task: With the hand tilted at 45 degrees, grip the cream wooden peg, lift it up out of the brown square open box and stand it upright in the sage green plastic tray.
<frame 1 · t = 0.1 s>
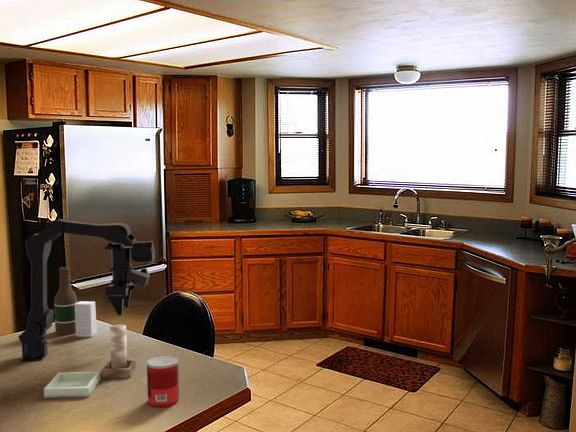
hand: (123, 311, 180), 15 cm above the table, tool pointing down, fingers open, 9 cm apart
peg: (118, 349, 166), in the brown square open box
tray: (73, 388, 155), on the table
brown square open box: (119, 372, 167), on the table
canned food: (163, 402, 147), on the table
skincare box: (86, 335, 202), on the table
beer bottle: (67, 332, 205), on the table
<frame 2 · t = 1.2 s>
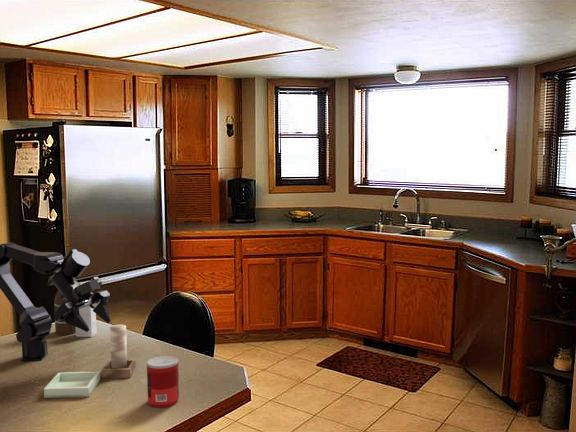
hand: (99, 326, 168), 13 cm above the table, tool tilted 45°, fingers open, 9 cm apart
nothing on the table moved.
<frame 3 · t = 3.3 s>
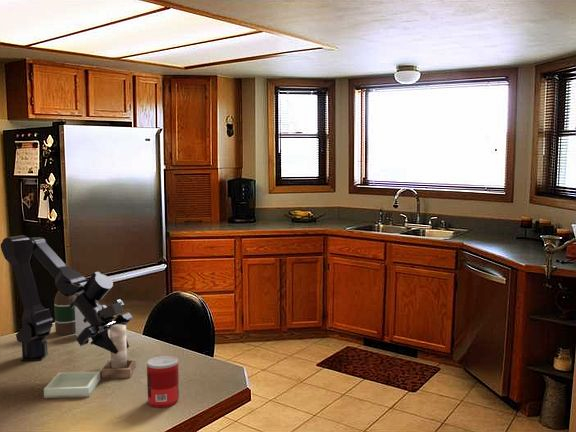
hand: (122, 350, 165), 7 cm above the table, tool tilted 45°, fingers closed on peg, 4 cm apart
peg: (118, 349, 166), in the brown square open box, touching gripper
everything else where it was.
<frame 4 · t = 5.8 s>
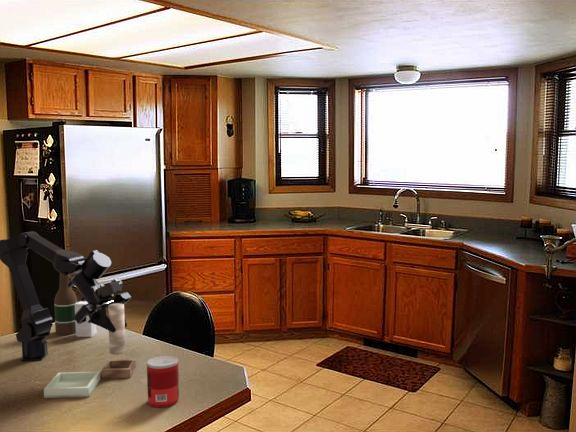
hand: (120, 329, 164), 13 cm above the table, tool tilted 45°, fingers closed on peg, 4 cm apart
peg: (116, 328, 165), point 14 cm above the table, touching gripper
everything else where it was.
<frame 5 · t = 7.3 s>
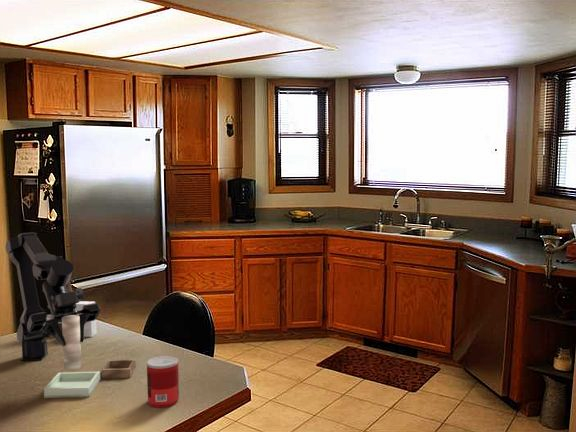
hand: (73, 343, 153), 13 cm above the table, tool tilted 45°, fingers closed on peg, 4 cm apart
peg: (71, 342, 154), point 13 cm above the table, touching gripper
everything else where it was.
when the fingers open (8 cm above the table, at t = 8.6 s): peg stays where it is, resting on tray.
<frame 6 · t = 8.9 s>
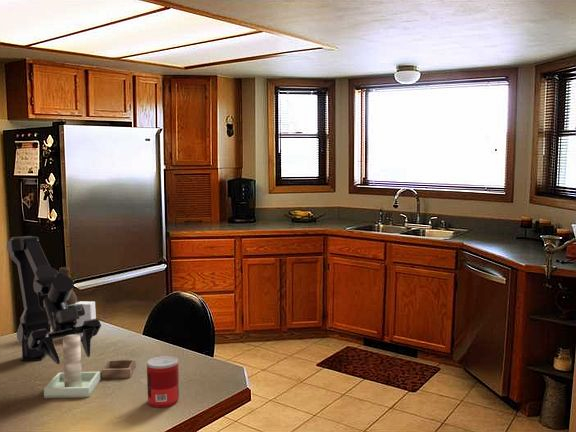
hand: (74, 359, 153), 9 cm above the table, tool tilted 45°, fingers open, 8 cm apart
peg: (72, 361, 154), in the tray, point 8 cm above the table
everything else where it was.
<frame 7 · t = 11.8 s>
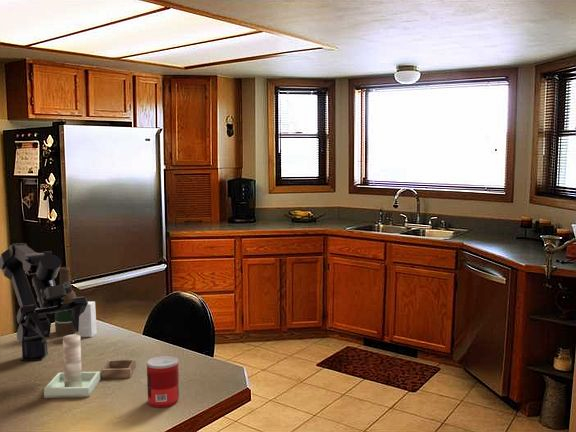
hand: (61, 334, 159), 14 cm above the table, tool tilted 45°, fingers open, 9 cm apart
nothing on the table moved.
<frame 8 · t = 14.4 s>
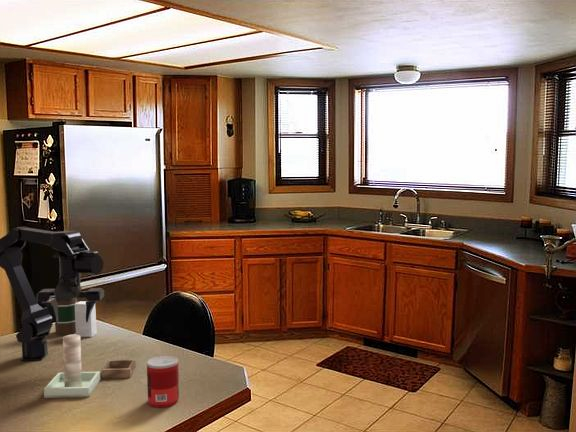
hand: (72, 322, 173), 13 cm above the table, tool pointing down, fingers open, 9 cm apart
nothing on the table moved.
at the end: peg 0.0 cm off-centre on the tray, point 7.6 cm above the tray's base; peg tilted 0°; the gripper is holding nothing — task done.
